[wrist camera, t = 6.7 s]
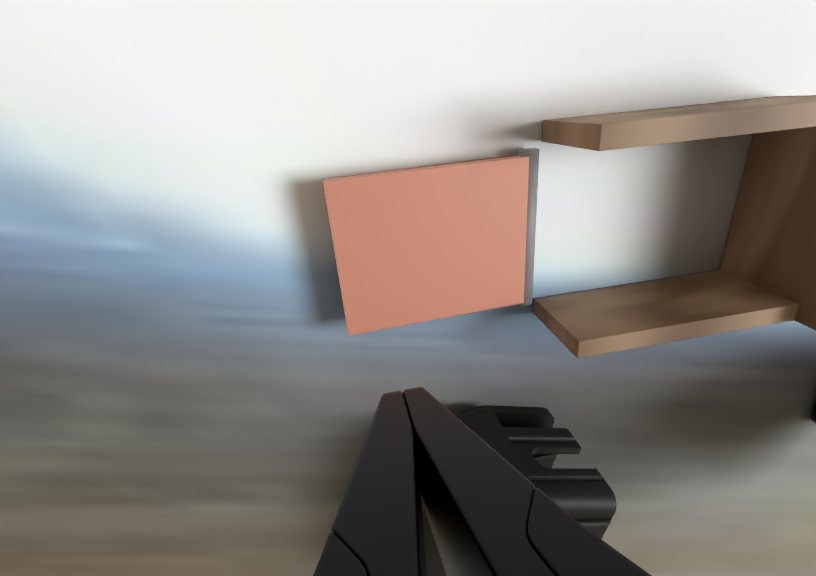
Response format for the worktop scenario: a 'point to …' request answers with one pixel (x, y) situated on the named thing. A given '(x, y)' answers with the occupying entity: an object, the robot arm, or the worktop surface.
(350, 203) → the salmon pink flat panel
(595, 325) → the brown wooden open frame
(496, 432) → the end cap
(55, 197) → the worktop surface
